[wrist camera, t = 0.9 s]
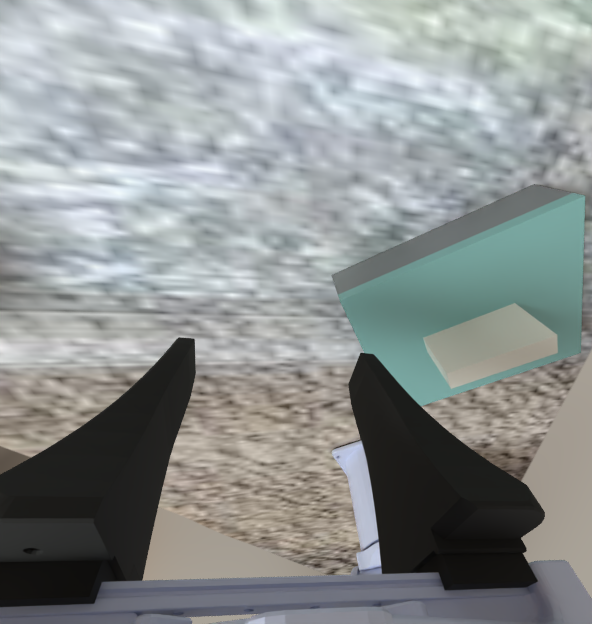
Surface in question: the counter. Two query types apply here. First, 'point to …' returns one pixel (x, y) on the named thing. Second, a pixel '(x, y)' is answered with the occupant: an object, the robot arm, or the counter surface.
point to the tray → (447, 235)
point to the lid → (479, 305)
